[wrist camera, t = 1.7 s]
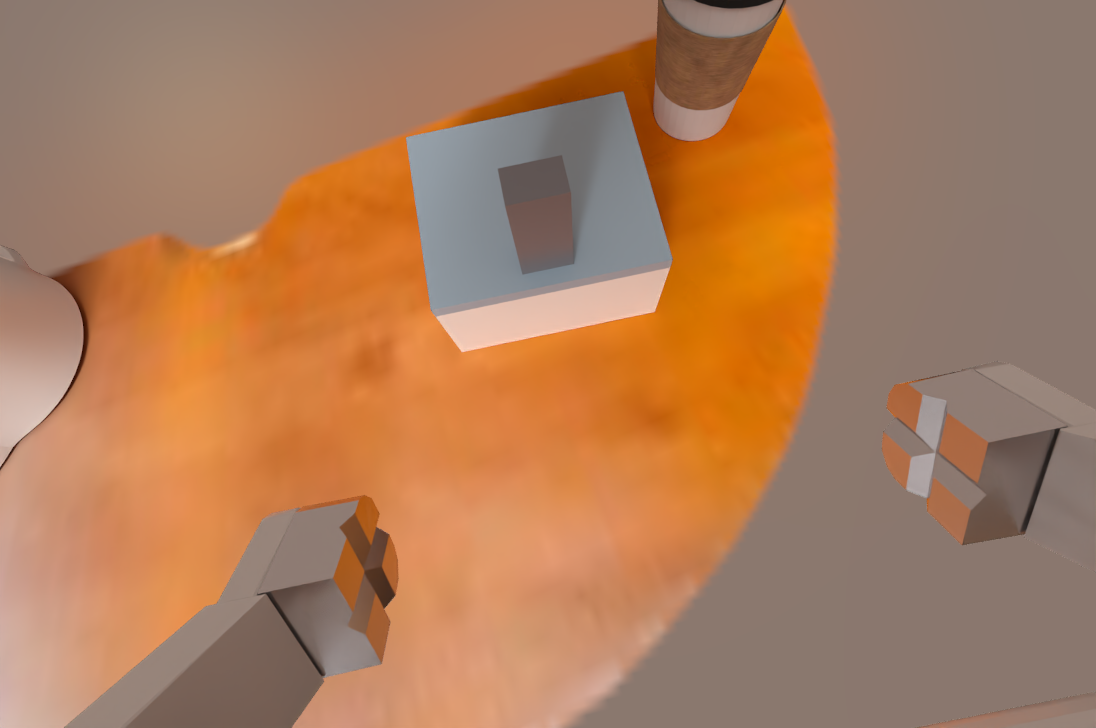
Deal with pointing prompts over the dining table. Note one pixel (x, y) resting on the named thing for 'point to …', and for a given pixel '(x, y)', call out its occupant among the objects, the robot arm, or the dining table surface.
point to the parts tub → (555, 311)
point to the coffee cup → (706, 60)
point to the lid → (534, 204)
